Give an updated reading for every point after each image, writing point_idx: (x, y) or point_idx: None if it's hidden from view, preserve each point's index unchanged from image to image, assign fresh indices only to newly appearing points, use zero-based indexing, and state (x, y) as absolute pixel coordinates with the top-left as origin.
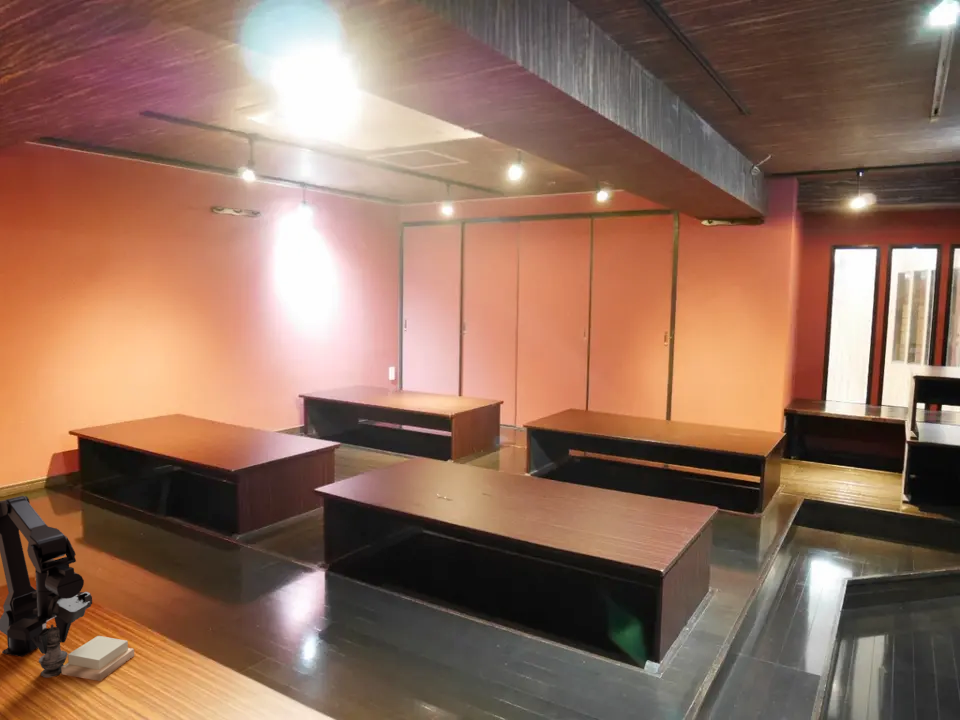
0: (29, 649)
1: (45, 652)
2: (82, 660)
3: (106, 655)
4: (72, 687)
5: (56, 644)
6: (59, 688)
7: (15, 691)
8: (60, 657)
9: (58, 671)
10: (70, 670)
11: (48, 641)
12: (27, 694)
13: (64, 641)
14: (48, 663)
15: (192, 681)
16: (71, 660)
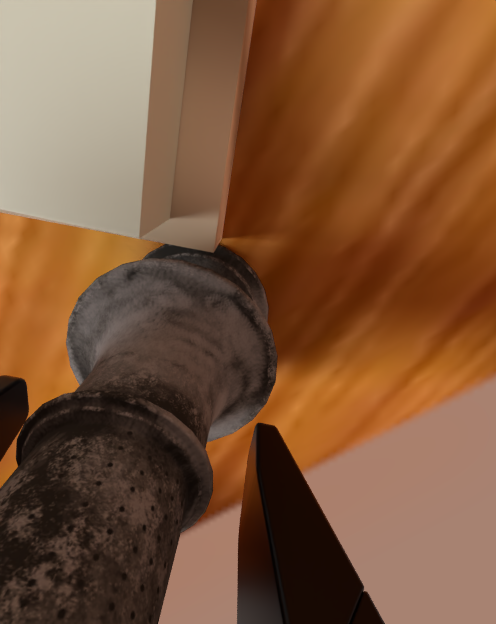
0: None
1: (275, 435)
2: (170, 10)
3: None
4: (401, 7)
5: (150, 409)
6: (405, 125)
7: (410, 390)
8: (177, 295)
9: (214, 269)
10: (229, 154)
11: (177, 536)
12: (454, 307)
13: (8, 380)
14: (270, 341)
15: None
16: (162, 186)
